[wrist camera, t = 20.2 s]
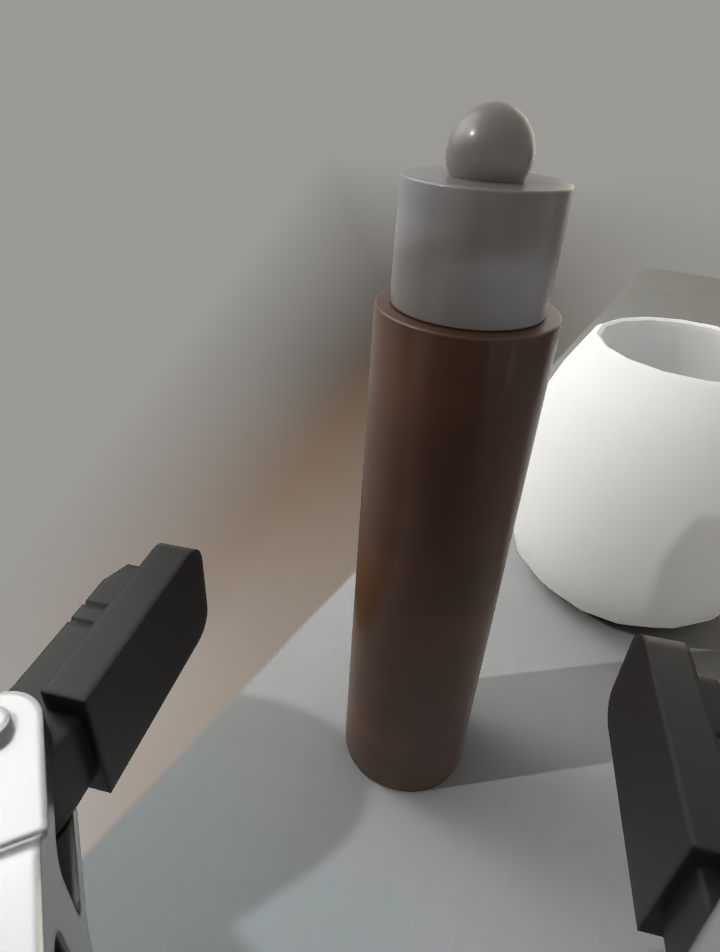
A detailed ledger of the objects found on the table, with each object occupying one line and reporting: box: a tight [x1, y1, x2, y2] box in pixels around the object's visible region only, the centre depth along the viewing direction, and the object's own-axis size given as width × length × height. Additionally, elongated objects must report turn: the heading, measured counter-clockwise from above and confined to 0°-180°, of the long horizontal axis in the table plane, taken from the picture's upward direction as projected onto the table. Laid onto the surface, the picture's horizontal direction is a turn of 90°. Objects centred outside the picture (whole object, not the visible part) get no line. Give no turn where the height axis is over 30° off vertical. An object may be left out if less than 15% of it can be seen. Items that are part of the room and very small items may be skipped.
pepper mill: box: [346, 102, 574, 791], centre depth 20 cm, size 5×5×22 cm
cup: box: [513, 317, 720, 628], centre depth 31 cm, size 13×13×14 cm
